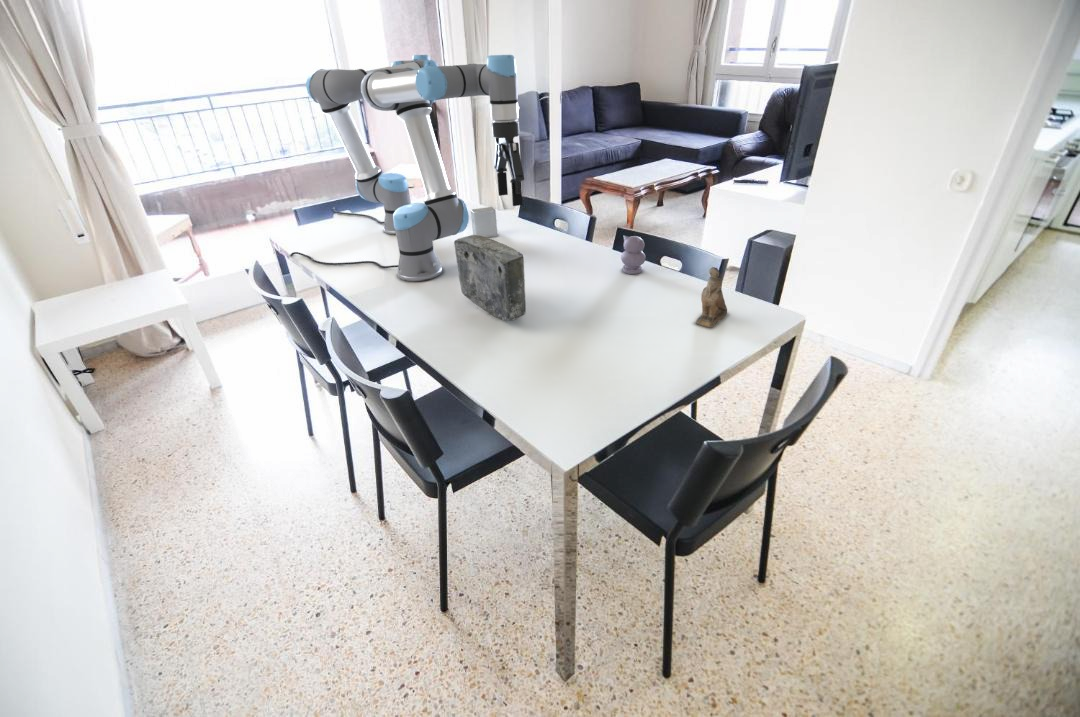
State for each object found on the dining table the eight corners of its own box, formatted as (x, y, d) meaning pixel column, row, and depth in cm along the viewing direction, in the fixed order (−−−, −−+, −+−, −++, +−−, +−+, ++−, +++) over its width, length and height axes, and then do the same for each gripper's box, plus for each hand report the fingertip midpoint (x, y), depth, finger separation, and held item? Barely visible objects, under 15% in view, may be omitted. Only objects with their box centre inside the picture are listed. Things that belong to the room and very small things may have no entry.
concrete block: (533, 322, 141) (530, 255, 130) (507, 332, 136) (501, 263, 126) (485, 293, 159) (479, 232, 149) (460, 300, 155) (452, 238, 145)
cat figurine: (649, 270, 171) (652, 236, 165) (636, 276, 167) (638, 242, 160) (628, 264, 176) (630, 231, 170) (615, 271, 172) (617, 237, 165)
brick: (476, 239, 208) (473, 212, 202) (473, 235, 212) (470, 209, 206) (497, 236, 210) (495, 209, 204) (493, 232, 215) (491, 206, 209)
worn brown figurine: (709, 335, 136) (713, 280, 124) (691, 329, 139) (693, 274, 128) (730, 313, 142) (736, 258, 130) (712, 307, 145) (716, 253, 133)
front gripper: (534, 124, 127) (537, 208, 138) (504, 115, 146) (509, 189, 158) (506, 126, 124) (511, 211, 135) (479, 117, 144) (486, 192, 155)
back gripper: (439, 94, 219) (446, 146, 230) (429, 92, 239) (435, 140, 250) (422, 96, 216) (430, 148, 228) (413, 93, 236) (420, 141, 248)
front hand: (510, 200), depth 147 cm, fingers open, 13 cm apart
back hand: (433, 144), depth 239 cm, fingers open, 13 cm apart
